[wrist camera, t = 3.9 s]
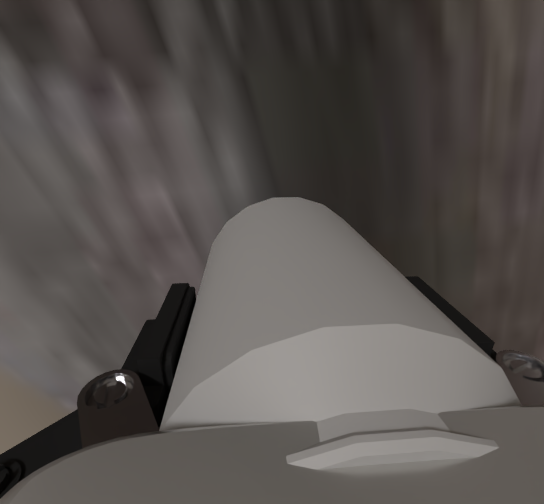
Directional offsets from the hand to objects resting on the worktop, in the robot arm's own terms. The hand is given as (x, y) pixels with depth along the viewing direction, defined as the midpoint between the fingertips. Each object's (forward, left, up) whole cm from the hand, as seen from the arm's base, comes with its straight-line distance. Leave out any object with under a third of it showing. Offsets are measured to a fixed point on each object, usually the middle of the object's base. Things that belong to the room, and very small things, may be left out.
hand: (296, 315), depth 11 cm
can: (0, 0, -5) cm, 5 cm away
